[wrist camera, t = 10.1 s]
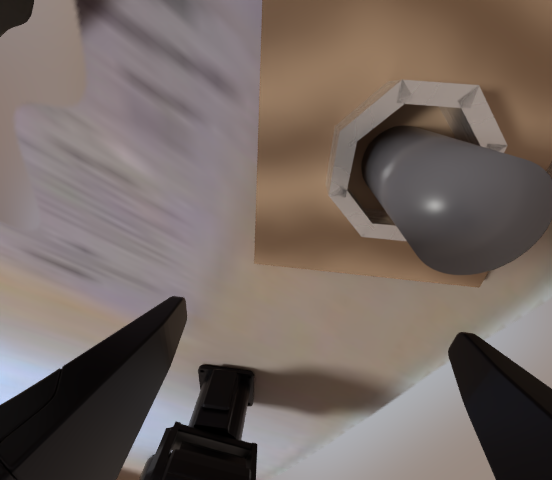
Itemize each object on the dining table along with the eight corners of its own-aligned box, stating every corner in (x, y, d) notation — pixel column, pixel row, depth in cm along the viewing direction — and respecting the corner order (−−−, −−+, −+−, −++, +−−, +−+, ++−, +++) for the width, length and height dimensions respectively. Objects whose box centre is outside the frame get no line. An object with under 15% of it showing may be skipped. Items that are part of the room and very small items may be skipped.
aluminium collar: (440, 228, 19) (459, 246, 16) (319, 217, 19) (321, 233, 17) (499, 89, 14) (534, 89, 12) (342, 78, 15) (349, 75, 13)
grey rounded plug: (420, 198, 18) (513, 281, 10) (354, 192, 18) (395, 268, 10) (445, 128, 16) (589, 163, 8) (370, 122, 16) (437, 150, 8)
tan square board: (470, 278, 22) (479, 287, 21) (256, 255, 23) (254, 263, 22) (627, -12, 13) (656, -21, 12) (266, -32, 14) (263, -43, 13)
